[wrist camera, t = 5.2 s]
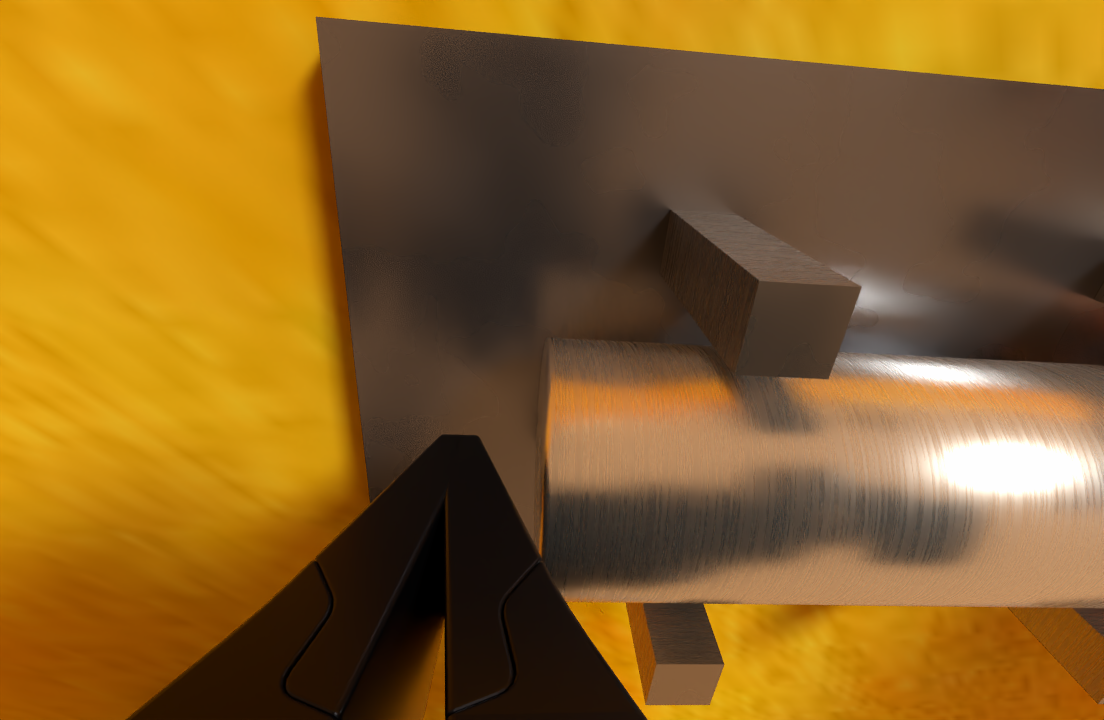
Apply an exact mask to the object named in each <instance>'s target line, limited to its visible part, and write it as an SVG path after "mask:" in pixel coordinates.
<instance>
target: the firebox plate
mask: <svg viewBox="0 0 1104 720" xmlns="http://www.w3.org/2000/svg"><path fill="white" fill-rule="evenodd" d="M316 23H317V32H318V41H319V50H320V59H321V67H322V76H323V85H324V94H325V103H326V112H327V121H328V130H329V139H330V148H331V157H332V166H333V175H334V184H335V192H336V201H337V210H338V219H339V228H340V237H341V246H342V255H343V264H344V273H345V282H346V291H347V300H348V309H349V317H350V326H351V335H352V344H353V353H354V362H355V371H356V380H357V389H358V398H359V407H360V416H361V425H362V434H363V442H364V451H365V460H366V469H367V478H368V487H369V496H370V504H371V503H372V502H373V501H374V500H375V499H376V498H377V497H378V496H379V495H380V494H381V493H382V492H383V491H384V490H385V489H386V488H387V487H388V486H389V485H390V484H391V483H392V482H393V481H394V480H395V479H396V478H397V477H398V476H399V475H400V474H401V473H402V472H403V471H404V470H405V469H406V468H407V467H408V466H409V465H411V464H412V463H413V462H414V461H415V460H416V459H417V458H418V457H419V456H420V455H421V454H422V453H423V452H424V451H425V450H426V449H427V448H428V447H429V446H430V445H431V444H432V443H433V442H434V441H435V440H436V439H437V438H438V437H439V436H441V435H443V434H456V435H477V436H479V437H480V439H481V441H482V443H483V445H484V447H485V449H486V451H487V453H488V454H489V456H490V458H491V460H492V462H493V464H494V466H495V468H496V470H497V472H498V474H499V476H500V478H501V480H502V482H503V484H504V486H505V488H506V489H507V491H508V493H509V495H510V497H511V499H512V501H513V503H514V505H515V507H516V509H517V511H518V513H519V515H520V517H521V519H522V521H523V522H524V524H525V526H526V528H527V530H528V532H529V534H530V536H531V538H532V540H533V542H534V480H535V452H536V431H537V413H538V398H539V385H540V374H541V365H542V357H543V350H544V344H545V340H546V338H565V339H585V340H605V341H626V342H646V343H666V344H686V345H706V346H713V347H714V348H715V349H716V351H717V352H718V354H719V355H720V356H721V358H722V359H723V360H724V362H725V363H726V364H727V366H728V367H729V368H730V370H731V371H732V372H733V374H734V375H745V376H767V377H789V378H811V379H829V376H830V374H831V371H832V368H833V365H834V363H835V360H836V357H837V354H838V352H848V353H868V354H888V355H908V356H929V357H949V358H969V359H989V360H1009V361H1030V362H1050V363H1070V364H1090V365H1104V89H1093V88H1082V87H1071V86H1061V85H1050V84H1039V83H1028V82H1017V81H1006V80H996V79H985V78H974V77H963V76H952V75H941V74H930V73H920V72H909V71H898V70H887V69H876V68H865V67H855V66H844V65H833V64H822V63H811V62H800V61H790V60H779V59H768V58H757V57H746V56H735V55H724V54H714V53H703V52H692V51H681V50H670V49H659V48H649V47H638V46H627V45H616V44H605V43H594V42H584V41H573V40H562V39H551V38H540V37H529V36H518V35H508V34H497V33H486V32H475V31H464V30H453V29H443V28H432V27H421V26H410V25H399V24H388V23H378V22H367V21H356V20H345V19H334V18H323V17H316ZM626 607H627V612H628V617H629V622H630V627H631V632H632V638H633V643H634V648H635V653H636V658H637V663H638V668H639V674H640V679H641V684H642V689H643V694H644V699H645V704H646V705H710V702H711V699H712V697H713V694H714V691H715V688H716V686H717V683H718V680H719V677H720V675H721V672H722V669H723V667H724V662H723V659H722V657H721V654H720V651H719V648H718V645H717V642H716V639H715V636H714V634H713V631H712V628H711V625H710V622H709V619H708V616H707V613H706V610H705V608H704V605H703V603H626ZM1008 608H1009V609H1010V611H1011V612H1012V613H1013V614H1014V615H1015V616H1016V617H1017V618H1018V619H1019V620H1020V621H1021V622H1022V623H1023V624H1024V625H1025V627H1026V628H1027V629H1028V630H1029V631H1030V632H1031V633H1032V634H1033V635H1034V636H1035V637H1036V638H1037V639H1038V640H1039V641H1040V643H1041V644H1042V645H1043V646H1044V647H1045V648H1046V649H1047V650H1048V651H1049V652H1050V653H1051V654H1052V655H1053V656H1054V657H1055V659H1056V660H1057V661H1058V662H1059V663H1060V664H1061V665H1062V666H1063V667H1064V668H1065V669H1066V670H1067V671H1068V672H1069V674H1070V675H1071V676H1072V677H1073V678H1074V679H1075V680H1076V681H1077V682H1078V683H1079V684H1080V685H1081V686H1082V687H1083V688H1084V690H1085V691H1086V692H1087V693H1088V694H1089V695H1090V696H1091V697H1092V698H1093V699H1094V700H1095V701H1096V702H1097V703H1098V704H1104V608H1038V607H1008Z"/></svg>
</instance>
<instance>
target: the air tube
mask: <svg viewBox="0 0 1104 720" xmlns="http://www.w3.org/2000/svg"><path fill="white" fill-rule="evenodd" d="M534 544H535V546H536V548H537V550H538V552H539V554H540V555H541V557H542V561H543V562H544V563H545V565H546V567H547V569H548V570H549V572H550V574H551V576H552V578H553V580H554V582H555V584H556V586H557V587H558V589H559V591H560V593H561V594H562V596H563V598H564V600H565V601H566V602H625V603H708V604H790V605H873V606H955V607H1038V608H1104V365H1090V364H1070V363H1050V362H1030V361H1009V360H989V359H969V358H949V357H929V356H908V355H888V354H868V353H848V352H838V354H837V357H836V360H835V363H834V365H833V368H832V371H831V374H830V376H829V379H811V378H789V377H767V376H745V375H734V374H733V372H732V371H731V370H730V368H729V367H728V366H727V364H726V363H725V362H724V360H723V359H722V358H721V356H720V355H719V354H718V352H717V351H716V349H715V348H714V347H713V346H706V345H686V344H666V343H646V342H626V341H605V340H585V339H565V338H546V340H545V344H544V350H543V357H542V365H541V374H540V385H539V398H538V413H537V431H536V452H535V480H534Z"/></svg>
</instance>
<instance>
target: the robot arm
mask: <svg viewBox="0 0 1104 720" xmlns="http://www.w3.org/2000/svg"><path fill="white" fill-rule="evenodd" d="M444 624H445V720H647V718H646V717H645V716H644V714H643V713H642V712H641V710H640V709H639V707H638V706H637V705H636V703H635V702H634V700H633V699H632V698H631V696H630V695H629V693H628V692H627V690H626V689H625V688H624V686H623V685H622V683H621V682H620V681H619V679H618V678H617V676H616V675H615V674H614V672H613V671H612V669H611V668H610V667H609V665H608V664H607V662H606V661H605V660H604V658H603V657H602V655H601V654H600V652H599V651H598V650H597V648H596V647H595V645H594V644H593V643H592V641H591V640H590V638H589V637H588V635H587V634H586V632H585V631H584V629H583V628H582V626H581V625H580V623H579V622H578V620H577V619H576V617H575V616H574V614H573V613H572V611H571V610H570V608H569V607H568V605H567V603H566V601H565V600H564V598H563V596H562V594H561V593H560V591H559V589H558V587H557V586H556V584H555V582H554V580H553V578H552V576H551V574H550V572H549V570H548V569H547V567H546V565H545V563H544V562H543V561H542V557H541V555H540V554H539V552H538V550H537V548H536V546H535V544H534V542H533V540H532V538H531V536H530V534H529V532H528V530H527V528H526V526H525V524H524V522H523V521H522V519H521V517H520V515H519V513H518V511H517V509H516V507H515V505H514V503H513V501H512V499H511V497H510V495H509V493H508V491H507V489H506V488H505V486H504V484H503V482H502V480H501V478H500V476H499V474H498V472H497V470H496V468H495V466H494V464H493V462H492V460H491V458H490V456H489V454H488V453H487V451H486V449H485V447H484V445H483V443H482V441H481V439H480V437H479V436H477V435H456V434H443V435H441V436H439V437H438V438H437V439H436V440H435V441H434V442H433V443H432V444H431V445H430V446H429V447H428V448H427V449H426V450H425V451H424V452H423V453H422V454H421V455H420V456H419V457H418V458H417V459H416V460H415V461H414V462H413V463H412V464H411V465H409V466H408V467H407V468H406V469H405V470H404V471H403V472H402V473H401V474H400V475H399V476H398V477H397V478H396V479H395V480H394V481H393V482H392V483H391V484H390V485H389V486H388V487H387V488H386V489H385V490H384V491H383V492H382V493H381V494H380V495H379V496H378V497H377V498H376V499H375V500H374V501H373V502H372V503H371V504H369V505H368V506H367V507H366V508H365V509H364V510H363V511H362V512H361V513H360V514H359V515H358V516H357V517H356V518H355V519H354V520H353V521H352V522H351V523H350V524H349V525H348V526H347V527H346V528H345V529H344V530H343V531H342V532H341V533H340V534H339V535H338V536H337V537H336V538H335V539H334V540H333V541H332V542H331V543H329V544H328V545H327V546H326V547H325V548H324V549H323V550H322V551H321V552H320V553H319V554H318V555H317V556H316V558H315V561H311V562H310V563H309V564H308V565H307V566H306V567H305V568H304V569H303V570H301V571H300V572H299V573H298V574H297V575H296V576H295V577H294V578H293V579H292V580H291V581H290V582H289V583H288V584H287V585H286V586H285V587H284V588H282V589H281V590H280V591H279V592H278V593H277V594H276V595H275V596H274V597H273V598H272V599H271V600H270V601H268V602H267V603H266V604H265V605H264V606H263V607H262V608H261V609H260V610H258V611H257V612H256V613H255V614H254V615H252V616H251V617H250V618H249V619H248V620H247V621H245V622H244V623H243V624H242V625H241V626H239V627H238V628H237V629H236V630H235V631H234V632H232V633H231V634H230V635H229V636H228V637H226V638H225V639H224V640H223V641H222V642H220V643H219V644H218V645H217V646H215V647H214V648H213V649H212V650H210V651H209V652H208V653H207V654H206V655H204V656H203V657H202V658H201V659H199V660H198V661H197V662H196V663H194V664H193V665H192V666H191V667H190V668H188V669H187V670H186V671H185V672H183V673H182V674H181V675H180V676H178V677H177V678H176V679H175V680H174V681H172V682H171V683H170V684H169V685H167V686H166V687H165V688H164V689H163V690H161V691H160V692H159V693H158V694H156V695H155V696H154V697H153V698H151V699H150V700H149V701H148V702H147V703H145V704H144V705H143V706H142V707H140V708H139V709H138V710H137V711H135V712H134V713H133V714H132V715H131V716H129V717H128V718H127V719H126V720H423V718H424V713H425V709H426V704H427V700H428V695H429V691H430V686H431V682H432V678H433V673H434V669H435V664H436V660H437V655H438V651H439V646H440V642H441V638H442V633H443V629H444Z"/></svg>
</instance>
